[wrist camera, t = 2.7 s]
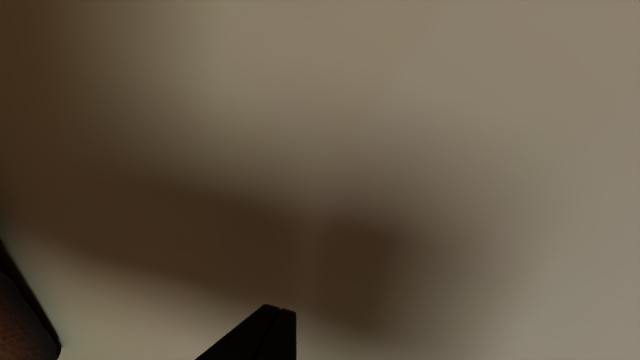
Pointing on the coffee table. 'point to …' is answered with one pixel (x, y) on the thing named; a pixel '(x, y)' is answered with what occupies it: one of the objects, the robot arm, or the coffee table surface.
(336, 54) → the coffee table surface
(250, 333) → the robot arm
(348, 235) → the coffee table surface
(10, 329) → the sunglasses case
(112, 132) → the coffee table surface
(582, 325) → the coffee table surface
